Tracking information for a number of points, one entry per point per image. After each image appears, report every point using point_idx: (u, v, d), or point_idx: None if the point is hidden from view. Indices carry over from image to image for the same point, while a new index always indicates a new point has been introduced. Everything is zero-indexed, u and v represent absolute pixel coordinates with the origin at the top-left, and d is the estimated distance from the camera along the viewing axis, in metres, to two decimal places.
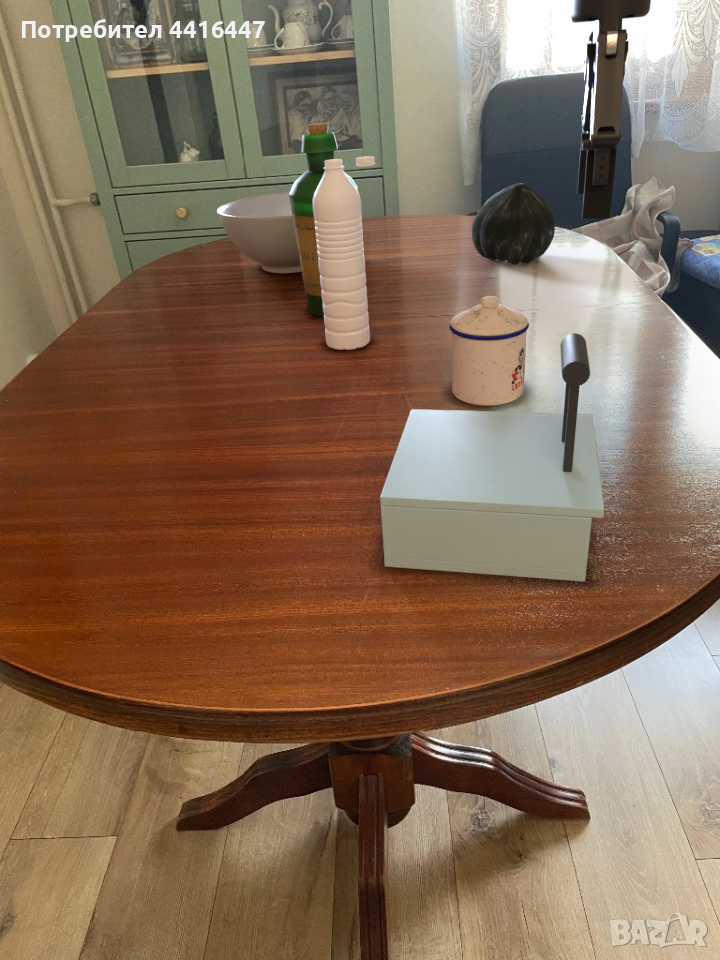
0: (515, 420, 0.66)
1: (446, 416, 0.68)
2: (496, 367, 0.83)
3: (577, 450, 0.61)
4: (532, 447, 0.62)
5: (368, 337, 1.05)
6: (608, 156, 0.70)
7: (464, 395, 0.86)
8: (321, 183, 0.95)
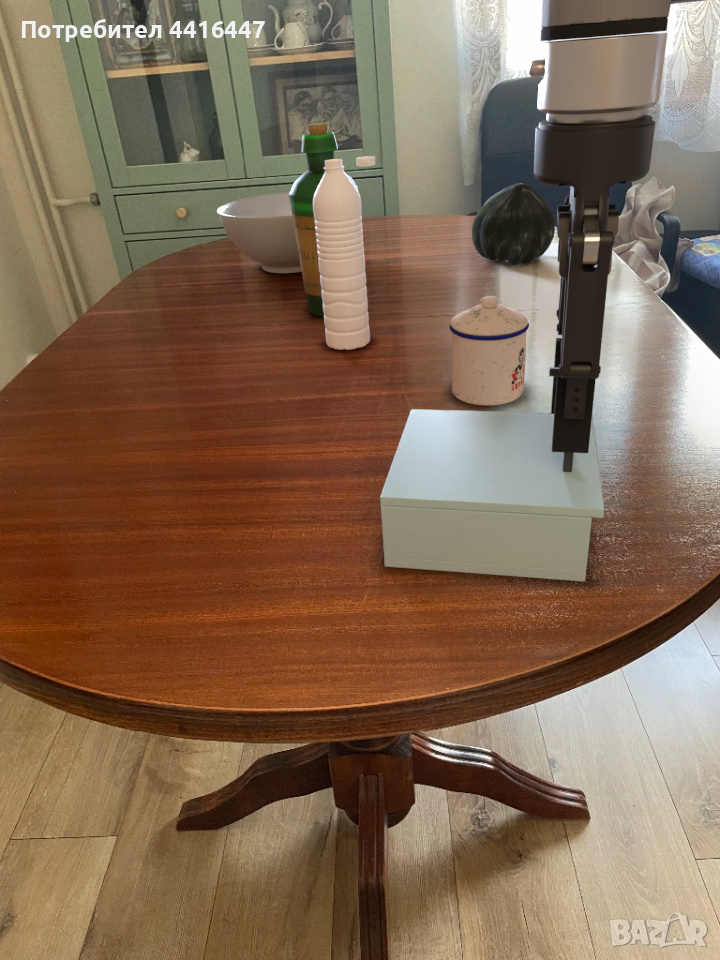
0: (515, 420, 0.66)
1: (446, 416, 0.68)
2: (496, 367, 0.83)
3: None
4: (532, 447, 0.62)
5: (368, 337, 1.05)
6: (584, 387, 0.52)
7: (464, 395, 0.86)
8: (321, 183, 0.95)
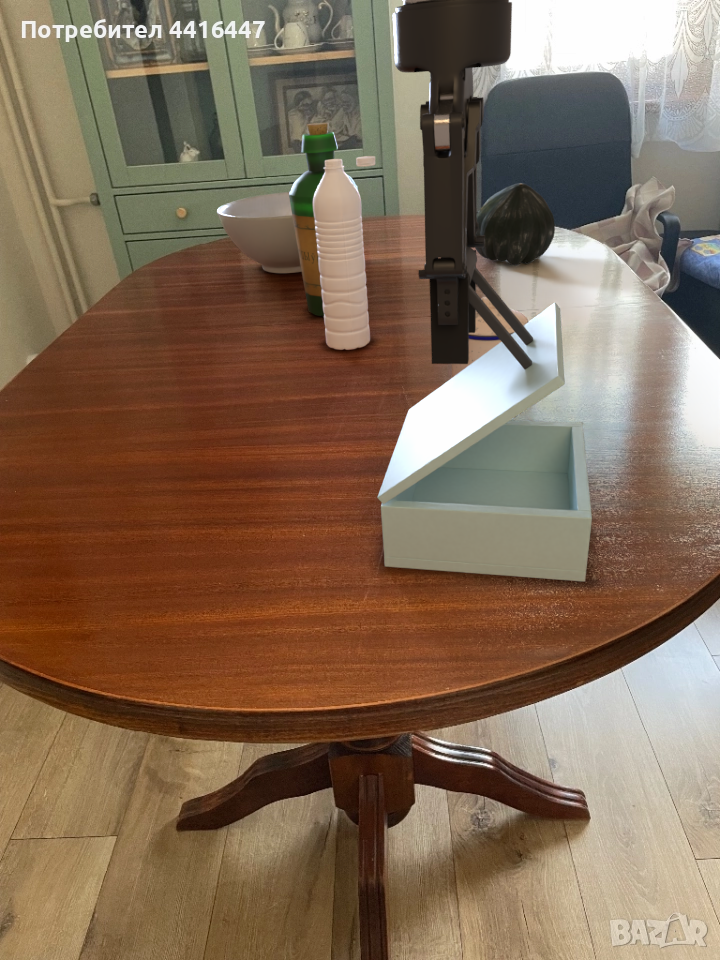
0: (489, 356, 0.64)
1: (435, 394, 0.67)
2: None
3: (539, 342, 0.57)
4: (501, 368, 0.59)
5: (368, 337, 1.05)
6: (454, 289, 0.50)
7: None
8: (321, 183, 0.95)
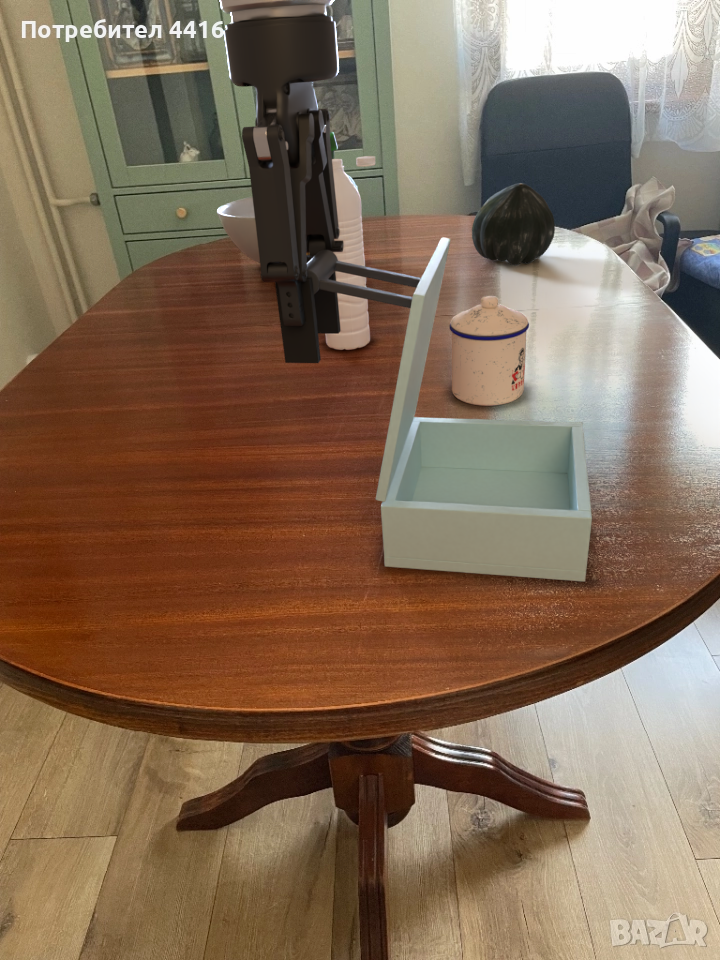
0: None
1: None
2: (496, 367, 0.83)
3: None
4: None
5: (368, 337, 1.05)
6: (295, 292, 0.53)
7: (464, 395, 0.86)
8: None
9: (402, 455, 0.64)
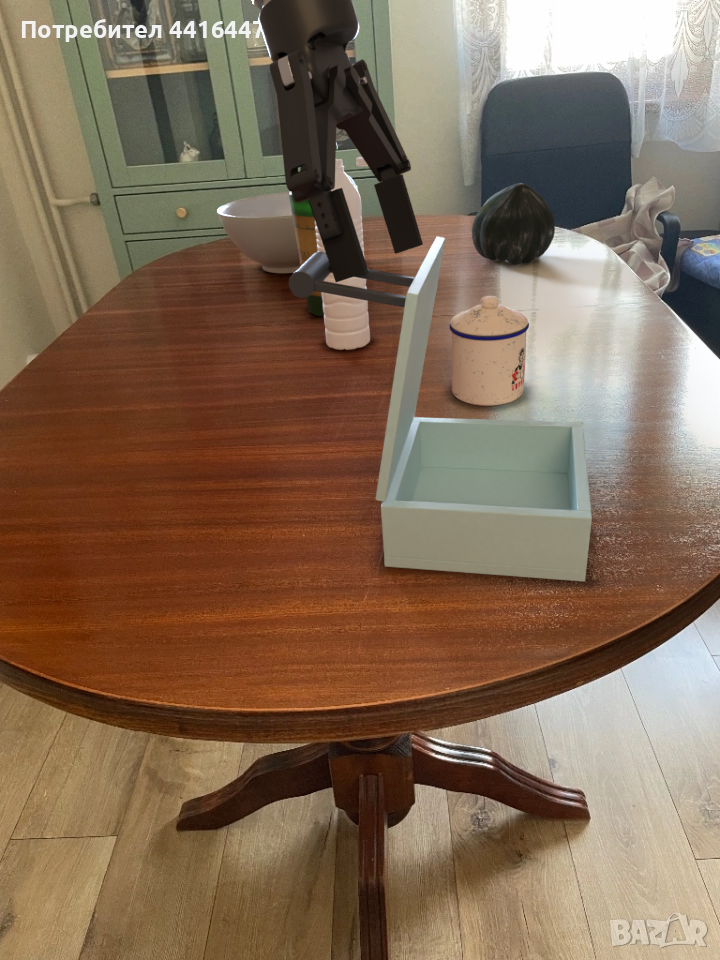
0: None
1: None
2: (496, 367, 0.83)
3: None
4: None
5: (368, 337, 1.05)
6: (324, 200, 0.55)
7: (464, 395, 0.86)
8: None
9: (402, 455, 0.64)
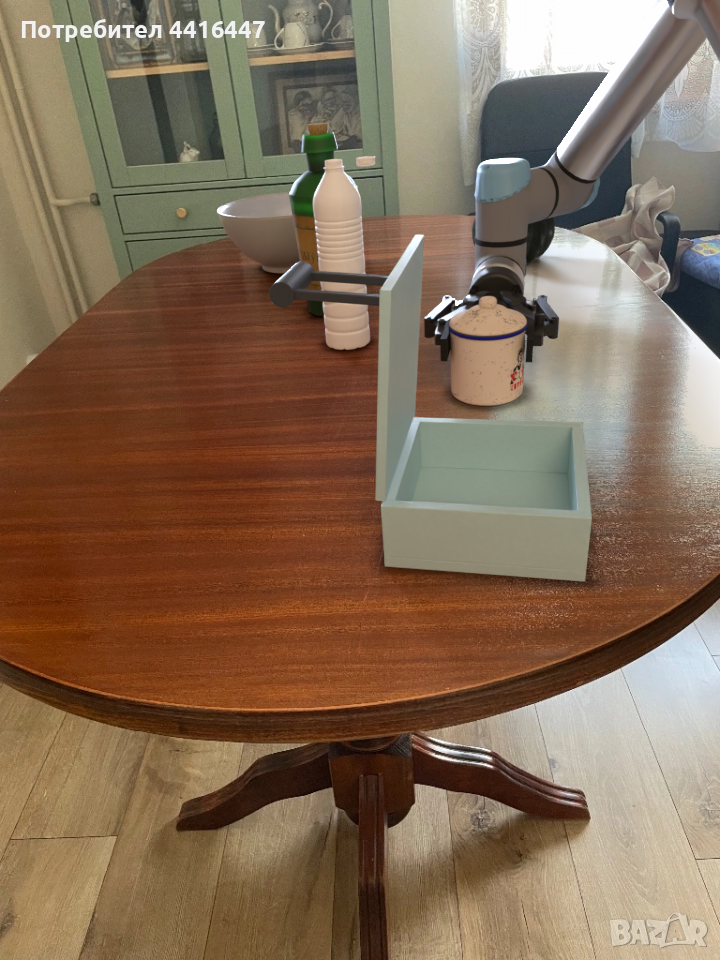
0: None
1: None
2: (494, 367, 0.82)
3: None
4: None
5: (368, 337, 1.05)
6: None
7: (463, 395, 0.86)
8: (321, 183, 0.95)
9: (402, 455, 0.64)
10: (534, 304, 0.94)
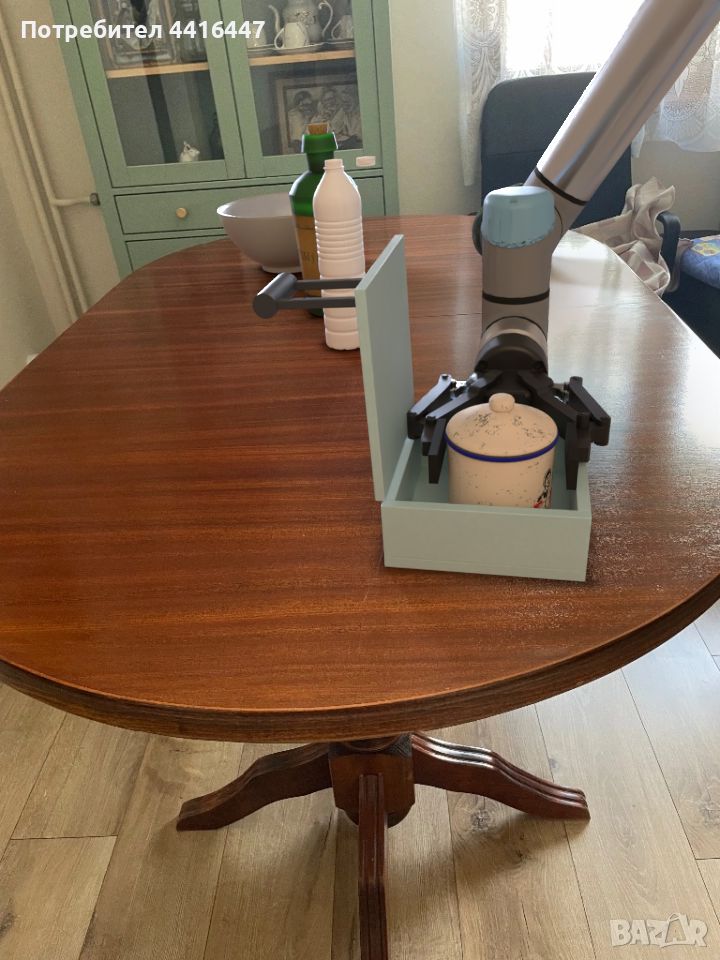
0: None
1: None
2: (511, 498, 0.57)
3: None
4: None
5: None
6: (423, 429, 0.64)
7: None
8: (321, 183, 0.95)
9: (402, 455, 0.64)
10: (566, 390, 0.69)
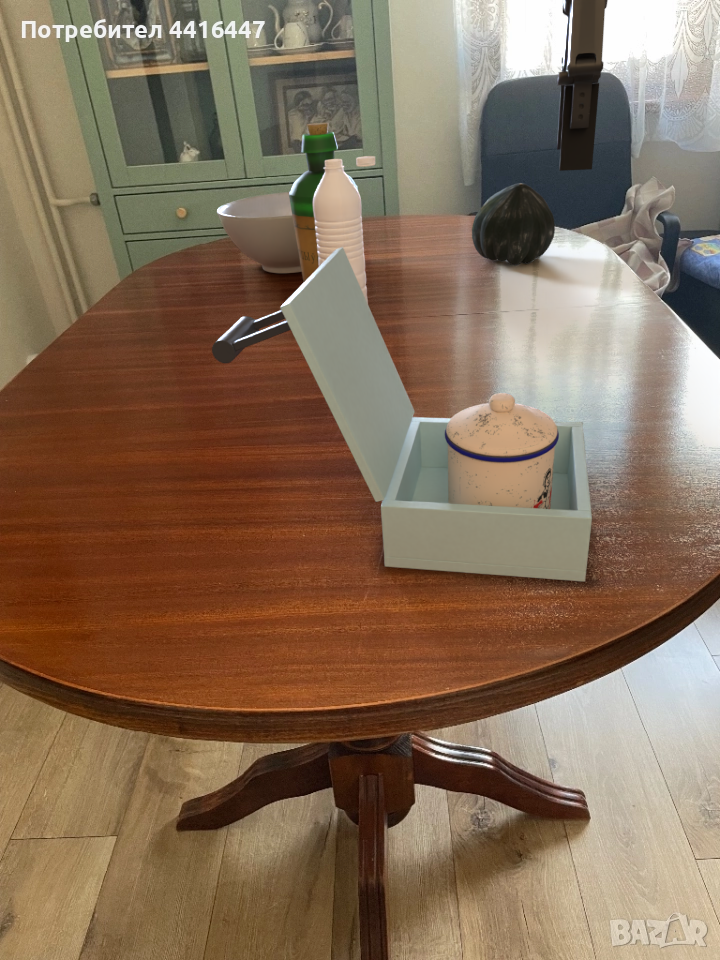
0: None
1: None
2: (511, 497, 0.57)
3: None
4: None
5: None
6: (589, 92, 0.58)
7: None
8: (321, 183, 0.95)
9: (402, 455, 0.64)
10: None
